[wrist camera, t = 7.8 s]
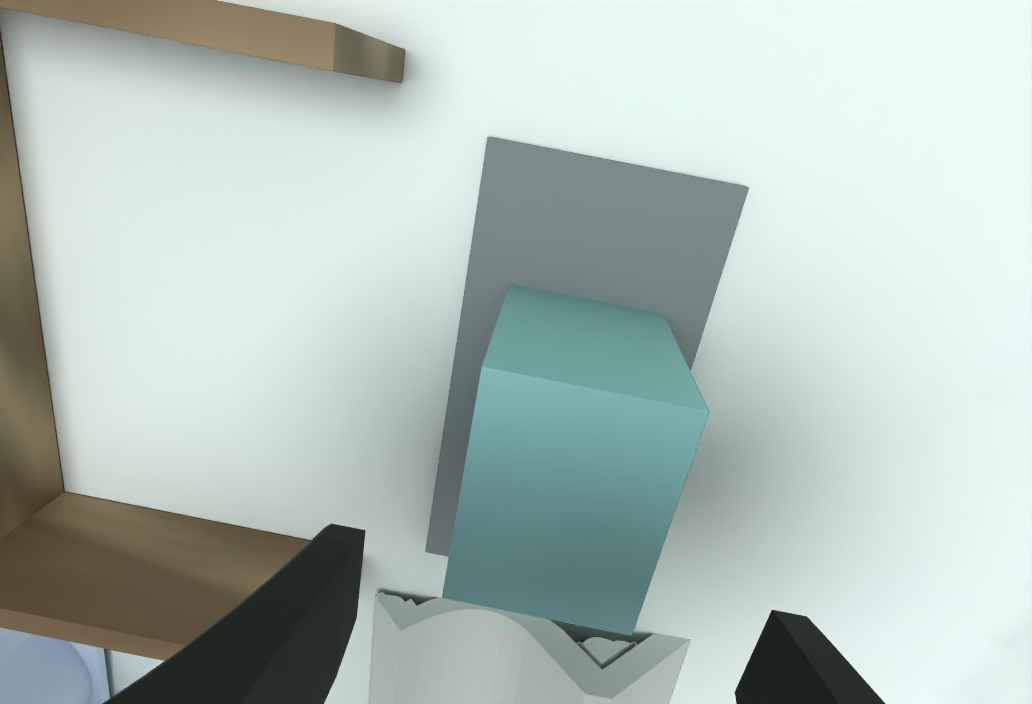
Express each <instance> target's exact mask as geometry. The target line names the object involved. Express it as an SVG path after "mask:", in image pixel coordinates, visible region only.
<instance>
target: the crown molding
mask: <svg viewBox="0 0 1032 704" xmlns="http://www.w3.org/2000/svg"><path fill="white" fill-rule="evenodd" d="M689 643H690V639H684V638H678V637H672V636H666V635H660V634H652V635H651V636H650V637H648V638H647V639H645V640H644V641H642V642H641V643H640V644H637V643H636V642H635V641H633V642H632V643H628V642H625V641H618V640H616V641H614V642H612V641H611V640H608V639H605V638H601V637H592V638H589V639H587V640H586V641H584V642H583V643H582V642H581V641H579V642H577V643H575V642H574V641H573V640H572V638H571V637H570V636H569V635H568V634H567V633H566V632H565V631H564V630H563V629H561V628H560V627H559V626H557V625H556V624H555V623H553V622H552V621H551V620H549V619H544V618H539V617H534V616H529V615H524V614H519V613H514V612H509V611H504V610H499V609H494V608H489V607H484V606H479V605H474V604H469V603H464V602H459V601H454V600H449V599H444V598H435V599H431V600H428V601H426V602H424V603H422V604H420V605H418V606H416V604H415V603H414V602H413V600H412V599H410V600H408V601H406V602H404V600H403V599H402V598H400V597H398V596H393V595H386V594H384V593H383V592H380V593H378V594H376V595H375V603H374V620H373V638H372V655H371V672H370V689H369V704H669V702H670V699H671V696H672V693H673V690H674V687H675V684H676V681H677V679H678V676H679V673H680V670H681V667H682V664H683V661H684V658H685V655H686V652H687V649H688V646H689Z"/></svg>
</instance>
